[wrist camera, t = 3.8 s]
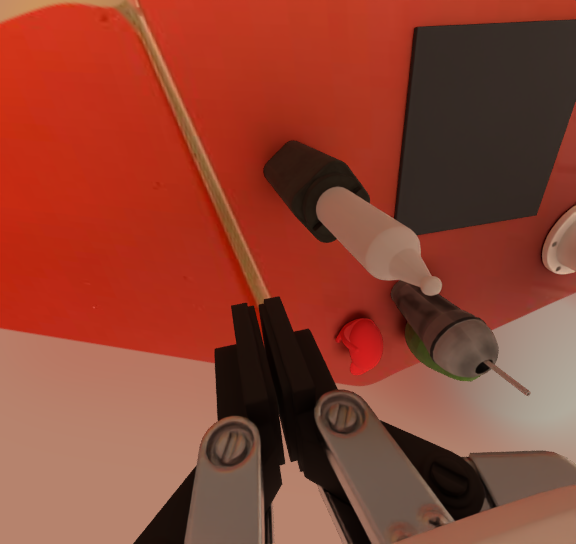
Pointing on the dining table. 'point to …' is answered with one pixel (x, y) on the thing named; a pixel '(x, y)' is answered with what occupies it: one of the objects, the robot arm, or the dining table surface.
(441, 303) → the beverage cup
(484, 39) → the mat
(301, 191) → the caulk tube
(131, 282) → the dining table surface
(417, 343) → the fruit
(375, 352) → the red animal figurine
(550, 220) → the dining table surface
